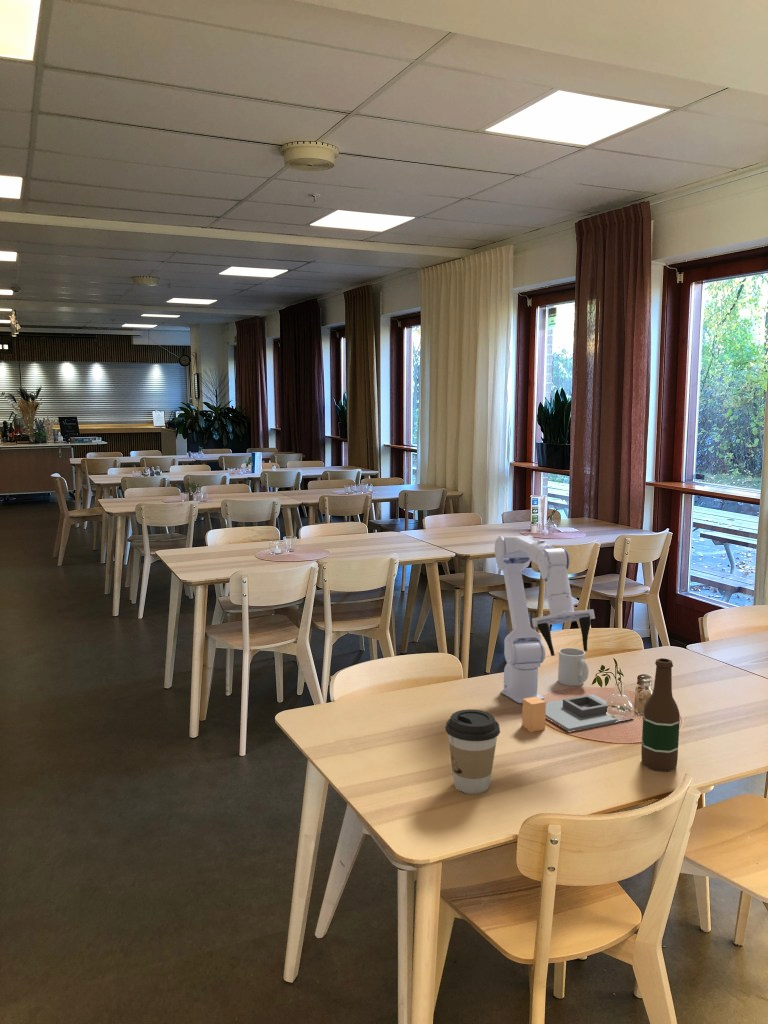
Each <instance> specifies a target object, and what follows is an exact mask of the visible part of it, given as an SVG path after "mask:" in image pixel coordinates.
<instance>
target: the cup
mask: <svg viewBox="0 0 768 1024" xmlns="http://www.w3.org/2000/svg"><path fill="white" fill-rule="evenodd" d="M557 669H558V670H557V671H558V672H557V673H558V674H557V675H558V676H557V679H558V682H559V684H561V685H564V686H568V687H580V686H581V685H583V684H584V683H585V682H586V681H587V680H588V678H589V666H588V662H587V661H586V651H584V649H580V648H576V647H575V648H574V647H565V648H564V647H563V648H560V649H559V650H558V667H557Z"/></svg>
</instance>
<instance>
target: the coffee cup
mask: <svg viewBox="0 0 768 1024" xmlns="http://www.w3.org/2000/svg"><path fill="white" fill-rule="evenodd" d="M445 733H447V734H448V735H447V736H448V741H449V742H448V743H449V744H448V745H449V751H450V753H449V754H450V761H451V768H452V777H453V779H452V780H453V784H454V787H455V786H456V787H455V788H457V789H458V791H459V790H460V791H459V792H461V791H462V792H461V793H463V792H464V794H469V795H478V793H479V794H483V793H486V791H488V789H489V787H490V784H491V779H492V777H491V776H492V772H493V767H494V766H493V765H494V759H495V753H496V747H497V739H498V737H499V735H500V733H501V728H500V724H499V722H498V721H497V720H496V718H495V716H494V715H493V714H492V713H490V712H488V711H485V710H482V709H481V710H480V709H472V708H471V709H470V708H469V709H461V710H458V711H457V710H456V711H455V712H453V713H451V715H450V718H448V720H447V721H446V723H445ZM457 789H456V790H457Z"/></svg>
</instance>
